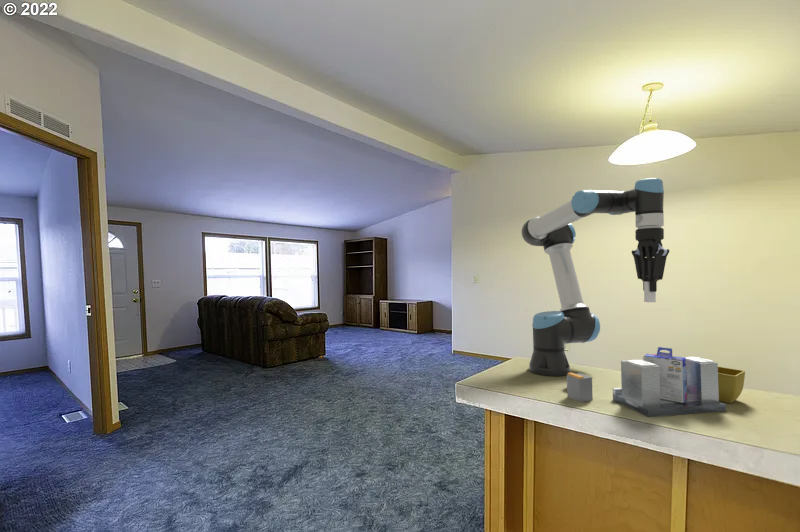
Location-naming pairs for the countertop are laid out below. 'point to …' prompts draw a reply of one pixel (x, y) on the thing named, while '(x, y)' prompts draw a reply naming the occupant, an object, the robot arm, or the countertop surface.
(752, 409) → the countertop surface
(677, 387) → the ink cartridge box
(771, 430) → the countertop surface
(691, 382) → the rail board
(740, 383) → the flower pot
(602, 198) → the robot arm
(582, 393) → the block
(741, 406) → the countertop surface
